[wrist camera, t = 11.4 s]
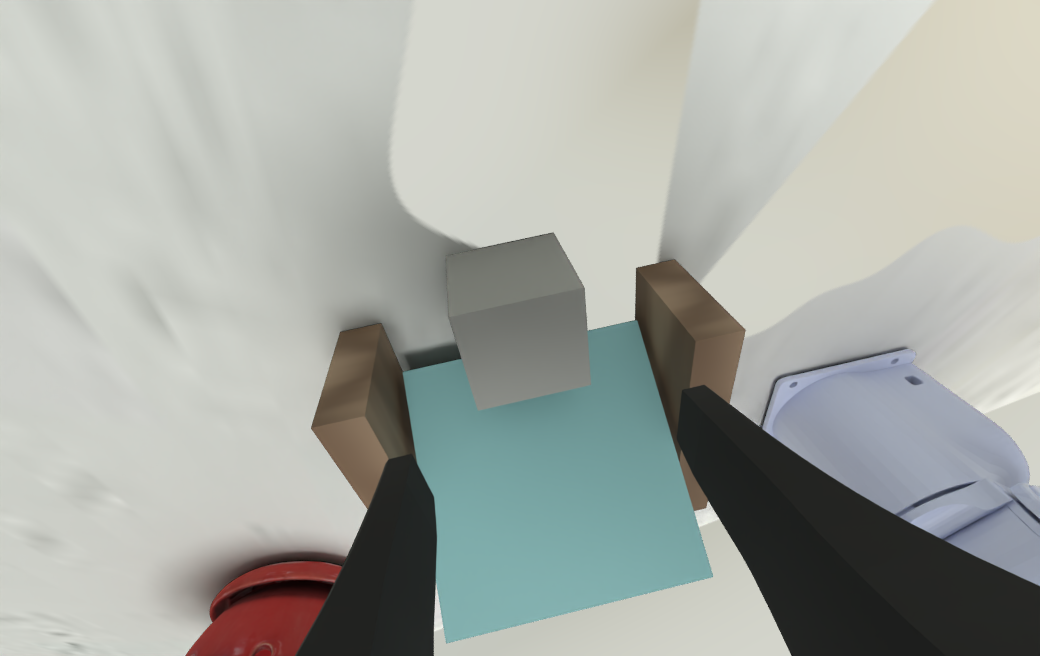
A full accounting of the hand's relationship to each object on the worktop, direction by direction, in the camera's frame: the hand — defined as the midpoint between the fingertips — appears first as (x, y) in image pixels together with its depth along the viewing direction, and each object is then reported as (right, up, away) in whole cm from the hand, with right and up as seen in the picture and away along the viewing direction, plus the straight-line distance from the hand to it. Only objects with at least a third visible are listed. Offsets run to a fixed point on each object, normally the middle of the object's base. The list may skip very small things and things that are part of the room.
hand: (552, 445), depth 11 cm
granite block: (-1, +2, +9) cm, 9 cm away
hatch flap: (0, -4, +12) cm, 13 cm away
